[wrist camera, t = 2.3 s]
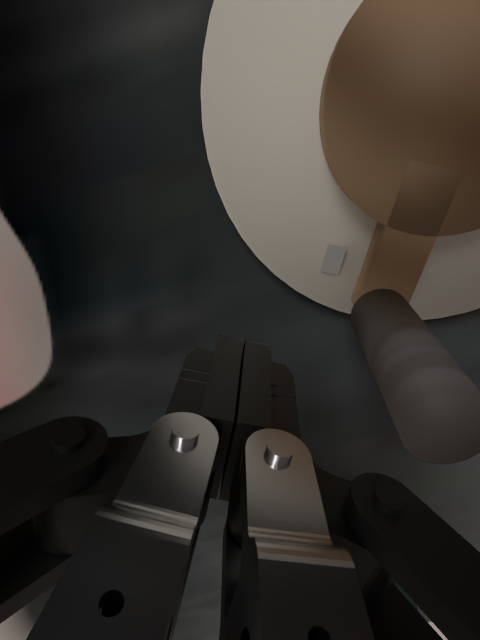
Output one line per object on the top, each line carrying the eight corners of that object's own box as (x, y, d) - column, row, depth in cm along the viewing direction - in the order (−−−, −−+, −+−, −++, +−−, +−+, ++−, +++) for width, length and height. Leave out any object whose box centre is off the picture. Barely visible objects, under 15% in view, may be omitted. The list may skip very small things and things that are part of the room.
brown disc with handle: (364, -89, 12) (532, -469, 4) (640, -27, 12) (1260, -287, 5) (268, 305, 18) (269, 433, 10) (454, 341, 18) (587, 492, 11)
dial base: (252, -306, 11) (250, -365, 10) (837, -168, 12) (910, -206, 10) (181, 272, 19) (174, 282, 18) (528, 340, 20) (548, 356, 18)
